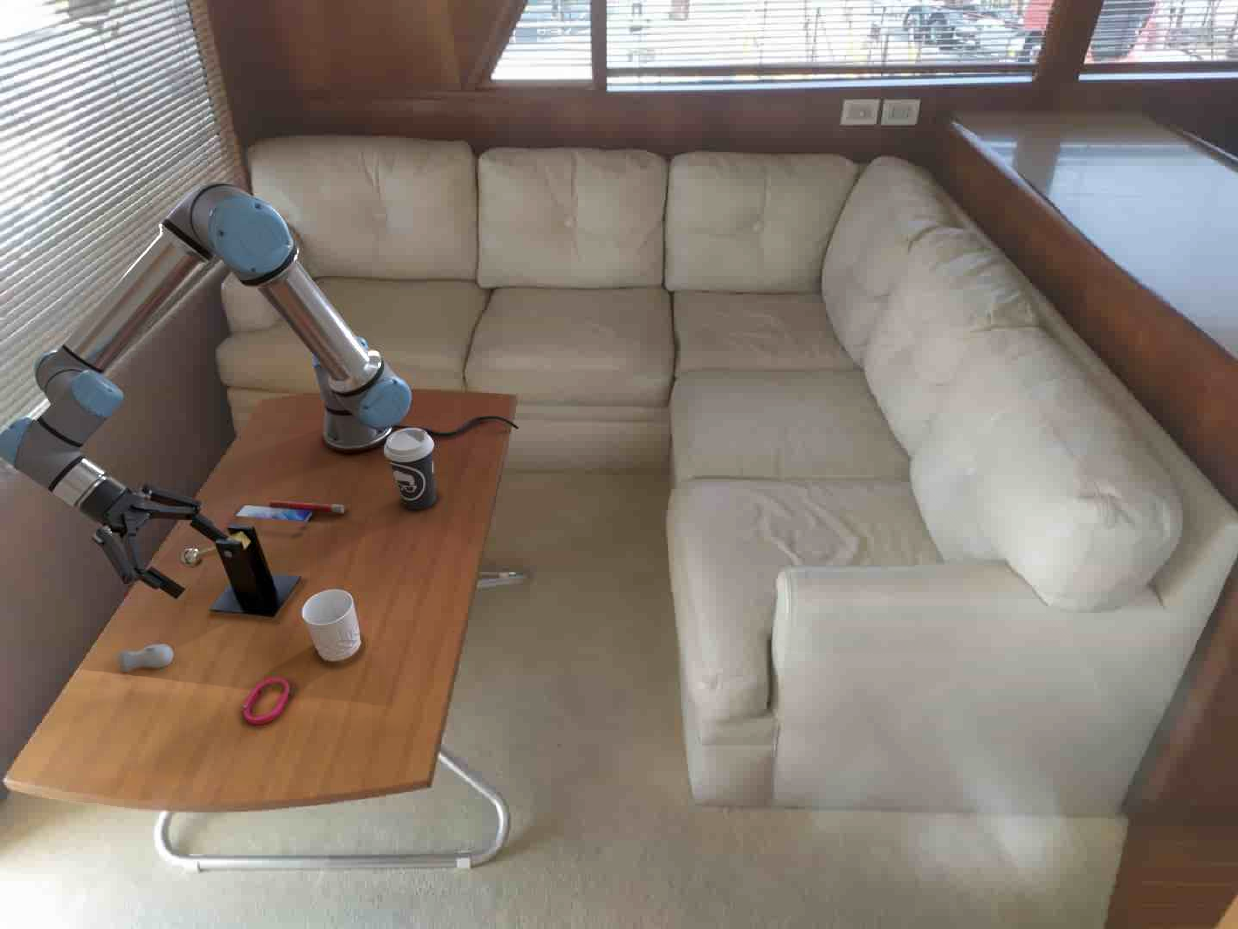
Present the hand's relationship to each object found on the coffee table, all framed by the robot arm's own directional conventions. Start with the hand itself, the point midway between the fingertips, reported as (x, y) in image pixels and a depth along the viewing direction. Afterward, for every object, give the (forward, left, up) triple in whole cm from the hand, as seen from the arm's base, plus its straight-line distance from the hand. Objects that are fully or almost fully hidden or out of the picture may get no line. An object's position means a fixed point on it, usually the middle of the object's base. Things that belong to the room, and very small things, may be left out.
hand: (203, 567), depth 149 cm
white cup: (-22, +21, -7) cm, 31 cm away
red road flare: (-16, -20, -5) cm, 26 cm away
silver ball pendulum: (-4, +2, +2) cm, 5 cm away
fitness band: (-11, +29, -7) cm, 31 cm away
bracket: (-8, +4, -6) cm, 11 cm away
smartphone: (-9, -18, -6) cm, 21 cm away
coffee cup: (-38, -16, -7) cm, 42 cm away
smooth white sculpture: (+8, +15, -7) cm, 18 cm away
